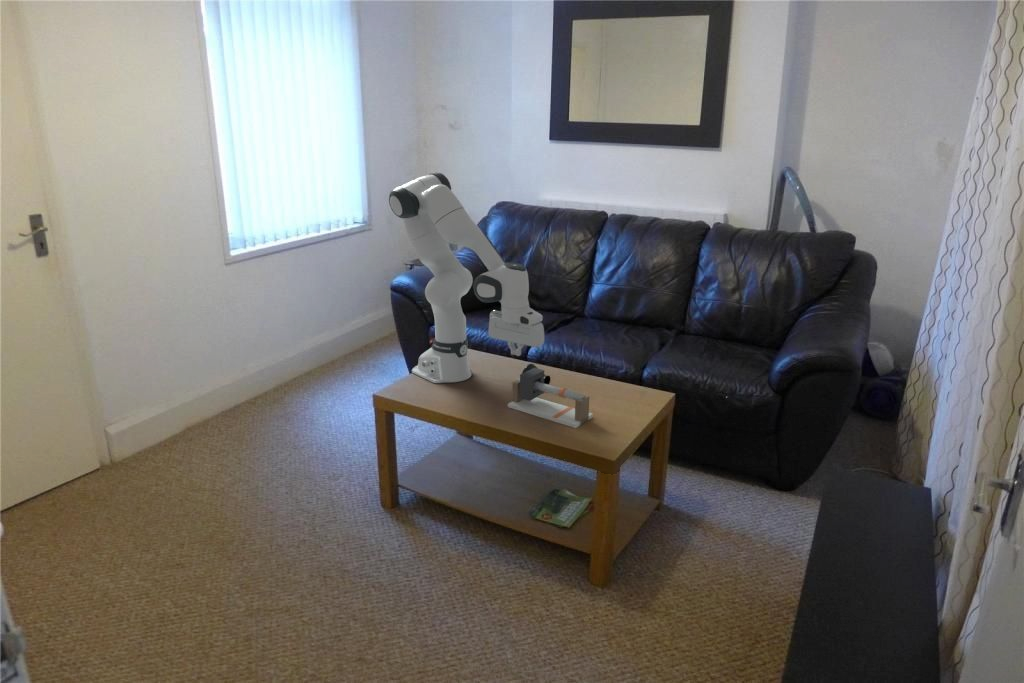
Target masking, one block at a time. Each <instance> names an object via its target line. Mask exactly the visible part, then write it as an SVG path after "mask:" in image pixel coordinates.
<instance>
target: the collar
mask: <svg viewBox="0 0 1024 683" xmlns="http://www.w3.org/2000/svg"><path fill="white" fill-rule="evenodd" d="M537 368H538V367H537ZM537 368H533V369H531V370H529V371H527V372H525V373H523V374H522V373H521V374H519V377H520V398H522V399H525V400H529V401H530V400H532V399H534V398H536V397H537V398H539V396H541V395H544V393H545V391H541V390H538V389H534V388H533V381H537V382H540V383H544V374H545V369H540V368H538V369H537Z"/></svg>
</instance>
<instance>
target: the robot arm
mask: <svg viewBox="0 0 1024 683" xmlns="http://www.w3.org/2000/svg"><path fill="white" fill-rule="evenodd" d="M388 203H389V207H390V209H391V211H392V212H393V213H394V215H395V216H396V217H398V218H400V219H402V220H403V224H404V227H405V231H406V233H407V235H408V238H409V241H410V243H411V244H412V247H413V249H414V251H415V253H416V255H417V257H418V260H419V261H420V262H421V264H423V265H424V266H426V267H427V268H428V269H429V271H430V272H431V273H432V275H433V277H432V278H431V279H430V280H429V281H428V283H427V285H426V286H425V290H424V297H425V298H426V300H427V302H428V303H429V304H430V306H431V310H432V313H433V317H434V333H435V334H434V335H435V337H433V338H431V339H430V340H429V344H432V345H431V347H430V348H429V349H427V350H425V351H424V352H423V353H421V354H420V356H419V357H418V361H417V362H418V363H417V365H415V366H414V367H413V368H412V369H411V373H412V374H414V375H417V376H418V377H420V378H423V379H425V380H427V381H429V382H430V383H432V384H443V383H457V382H463V381H466V380H469V378H471V376H472V372H471V368H470V364H469V357H468V348H469V347H468V346H469V345H468V343H469V342H468V337H467V318H466V315H465V314H464V312H463V308H462V305H461V299H462V297H463V296H465V295H467V293H468V292H469V291H470V290H471V287H472V288H473V292H474V295H475V297H476V298H477V299H478V300H479V301H480V302H483V303H497V302H499V303H500V304H501V305H500V306H501V307H500V308H501V309H500V310H496V309H493V310H491V311H490V313H489V322H488V330H487V331H488V335H489V338H491V339H496V340H500V341H506V342H507V346H508V348H509V349H510V354H511V355H512V356H517V357H520V356H521V355H522V350H523V348H524V346H528V347H533V348H540V347H541V346H543V345H544V343H545V327H544V324H543V323H542V321H543V315H542V314H541V313H539V312H538V311H536V310H534V309H533V308H531V307H530V301H529V298H528V297H529V293H530V292H529V291H530V284H529V273H528V270H527V268H526V267H525V266H524V265H522V264H521V263H518V262H509V261H508V262H507V261H506V260H505V259H504V257H503V256H502V255H501V253H500V252H499V250H498V249H497V248H496V247H495V245H494V244H493V243H492V241H491V240H490V239H489V237H488V236H487V235H486V233H485V232H484V231H483V230H482V229H481V228H480V227H479V226H478V225H477V224H476V223H475V222H474V221H473V219H472V218H471V217H470V216H469V214H468V213H467V210H466V209H465V207H464V206H463V205H462V204H463V203H461V202H460V200H459V199H458V197H457V196H456V195H455V193H454V192H453V191H452V185H451V183H450V181H449V179H448V178H447V177H446V176H445V175H444V174H443V173H442V172H430V173H428V174H426V175H423V176H419V177H417V178H414V179H412V180H411V181H408V182H406V183H404V184H402V185H399V186H397V187H395V188H394V189H393V190H391V191H390V193H389V197H388ZM448 243H449V244H451V245H454V246H462V247H464V248H468V249H470V250H472V251H473V252H474V253H475V254H476V255H477V256H478V257H479V259H480V260H481V262H482V263H483V264H484V266H485V267H486V269H487V270H488V271H486V272H483V273H481V274H480V275H478V276H477V277H475V279H474V278H473V276H472V272H471V270H469V269H468V268H467V267H464V266H463V265H462V264H461V262H460V261H459V259H458V258H457V257H456V255H455V254H454V252H453V251H452V249H451V247H450V246H449V244H448ZM473 279H474V281H473ZM515 344H516V346H515ZM516 347H517V348H516Z"/></svg>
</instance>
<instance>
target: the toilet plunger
mask: <svg viewBox="0 0 1024 683" xmlns="http://www.w3.org/2000/svg"><path fill="white" fill-rule="evenodd" d="M533 368H537V369H539V367H537V365H535V364H534V363H529V364H528V363H527V365H526V366H525V367H524V368H523V370H522V373H521V374H523V373H525V372H527V371H529V370H531V369H533ZM551 379H552V378H551V375H546V374H545V373H544V384H548V385H550V383H551Z"/></svg>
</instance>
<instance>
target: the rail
mask: <svg viewBox="0 0 1024 683" xmlns="http://www.w3.org/2000/svg"><path fill="white" fill-rule="evenodd" d="M533 388H534V389H538V390H541V391H544V393H548V394H552V395H554V396H555V395H556V396H558V397H559V398H563V399H566V398H567V399H570V400H573V401H574V402H575V404H574V405H575V406H574V407H572V406H568V405H565V404H560V403H557V402H553V401H550V400H547V399H543V398H540V397H536V398H534V399H532V400H530V401H529V400H525V399H522V398H520V376H519V377H518V378H517V379H516V380H514V381H513V382H512V395H511V396H512V399H511V401H510V402H509V403H507V407H508V408H510V409H514V410H515V411H519V412H522V413H525V414H529V415H532V416H535V417H538V418H542V419H545V420H548V421H552V422H555V423H557V424H562V425H565V426H567V427H571V428H574V429H577V428H578V427H580V426H582V425H583V424H585V423H586V422H588V421H590V419H592V418H593V417H594V416H593V413H591V412H590V396H589V395H586V394H584V393H580V392H577V391H573V390H569V389H568V388H566V387H558V386H555V385H551V384H549V385H548V384H544V383H540V382H537V381H533Z"/></svg>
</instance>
